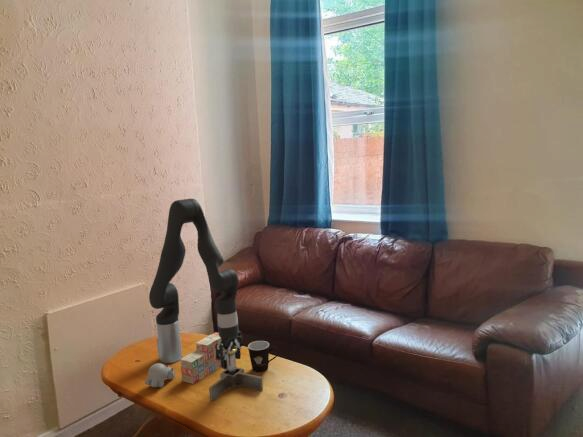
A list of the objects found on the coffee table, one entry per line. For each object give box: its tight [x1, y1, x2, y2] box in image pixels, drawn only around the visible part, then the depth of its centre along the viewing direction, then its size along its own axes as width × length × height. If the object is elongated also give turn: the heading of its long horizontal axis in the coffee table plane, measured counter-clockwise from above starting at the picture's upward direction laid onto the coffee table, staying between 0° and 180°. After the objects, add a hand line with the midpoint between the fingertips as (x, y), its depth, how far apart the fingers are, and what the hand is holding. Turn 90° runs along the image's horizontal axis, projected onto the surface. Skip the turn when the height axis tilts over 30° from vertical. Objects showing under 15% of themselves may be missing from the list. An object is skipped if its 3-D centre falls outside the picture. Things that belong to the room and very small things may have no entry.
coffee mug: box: [247, 340, 280, 373], centre depth 182 cm, size 12×9×10 cm
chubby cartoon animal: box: [144, 362, 176, 388], centre depth 176 cm, size 7×12×8 cm, turn 139°
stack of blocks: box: [180, 332, 227, 385], centre depth 183 cm, size 21×6×12 cm, turn 148°
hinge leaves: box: [208, 366, 264, 402], centre depth 166 cm, size 16×16×5 cm
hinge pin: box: [223, 347, 237, 375], centre depth 172 cm, size 5×5×14 cm
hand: (231, 363), depth 171 cm, fingers open, 8 cm apart
